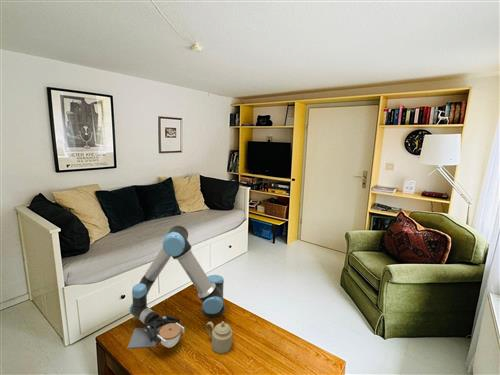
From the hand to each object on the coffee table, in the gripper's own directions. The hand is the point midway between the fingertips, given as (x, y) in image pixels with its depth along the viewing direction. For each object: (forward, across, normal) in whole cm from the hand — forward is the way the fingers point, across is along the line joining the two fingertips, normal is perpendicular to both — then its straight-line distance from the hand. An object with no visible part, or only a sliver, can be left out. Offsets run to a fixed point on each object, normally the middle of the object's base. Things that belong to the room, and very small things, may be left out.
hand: (175, 336), depth 134 cm
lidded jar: (-4, 0, -6) cm, 8 cm away
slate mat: (-21, +4, -9) cm, 23 cm away
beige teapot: (+14, -18, -10) cm, 25 cm away
